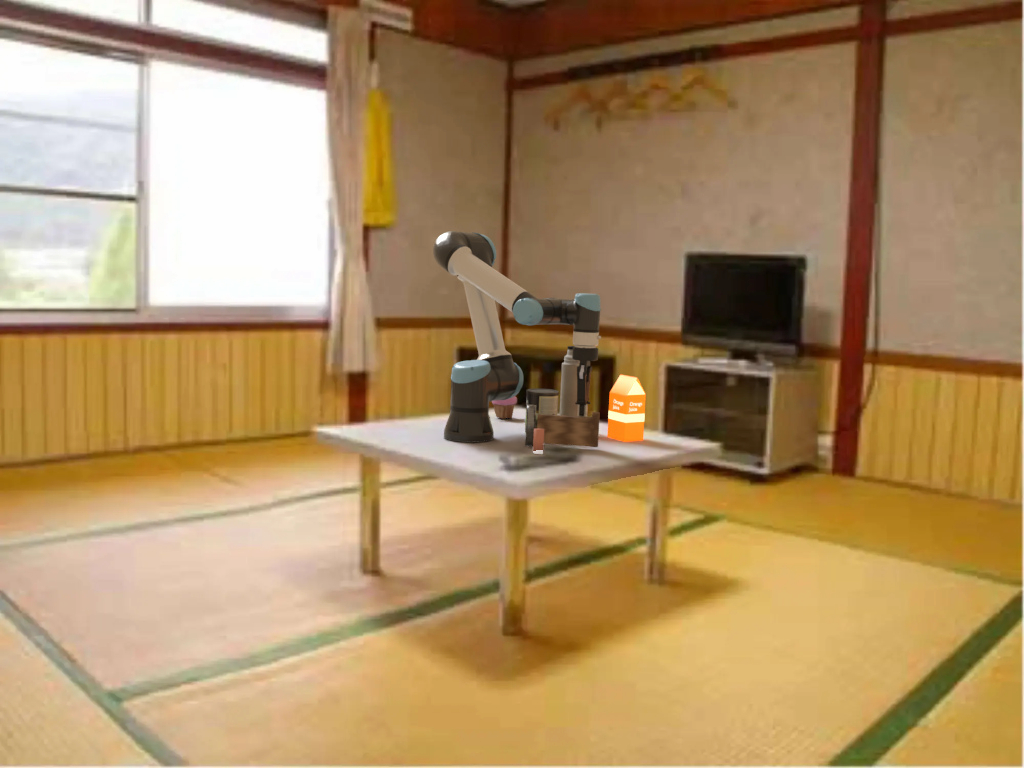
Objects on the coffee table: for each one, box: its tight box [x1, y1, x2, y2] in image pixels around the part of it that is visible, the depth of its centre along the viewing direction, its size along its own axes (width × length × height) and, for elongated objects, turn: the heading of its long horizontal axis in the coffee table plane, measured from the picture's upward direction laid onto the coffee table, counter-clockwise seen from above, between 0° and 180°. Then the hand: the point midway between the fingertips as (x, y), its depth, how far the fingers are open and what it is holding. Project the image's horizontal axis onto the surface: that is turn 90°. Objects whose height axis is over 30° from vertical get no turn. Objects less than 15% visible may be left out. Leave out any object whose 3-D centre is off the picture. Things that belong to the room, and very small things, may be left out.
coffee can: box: [524, 388, 560, 435], centre depth 297 cm, size 10×10×14 cm
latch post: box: [532, 428, 545, 452], centre depth 266 cm, size 3×3×7 cm
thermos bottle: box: [559, 345, 580, 416], centre depth 303 cm, size 8×8×28 cm
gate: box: [537, 411, 600, 448], centre depth 276 cm, size 18×2×10 cm, turn 81°
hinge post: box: [524, 405, 536, 447], centre depth 278 cm, size 3×3×12 cm
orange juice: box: [607, 373, 647, 443], centre depth 296 cm, size 8×9×20 cm
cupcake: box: [491, 396, 518, 420], centre depth 328 cm, size 9×9×10 cm
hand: (581, 426), depth 277 cm, fingers closed
